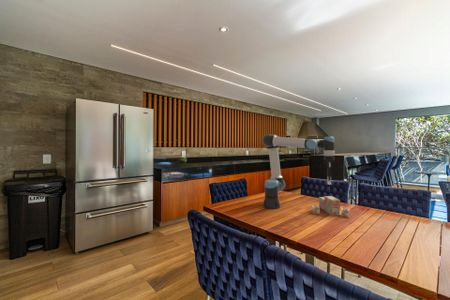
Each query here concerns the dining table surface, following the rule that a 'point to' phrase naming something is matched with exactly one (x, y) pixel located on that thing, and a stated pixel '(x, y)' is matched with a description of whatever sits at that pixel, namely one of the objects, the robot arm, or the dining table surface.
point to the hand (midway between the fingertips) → (329, 184)
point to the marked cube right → (345, 212)
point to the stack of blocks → (330, 205)
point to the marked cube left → (316, 209)
